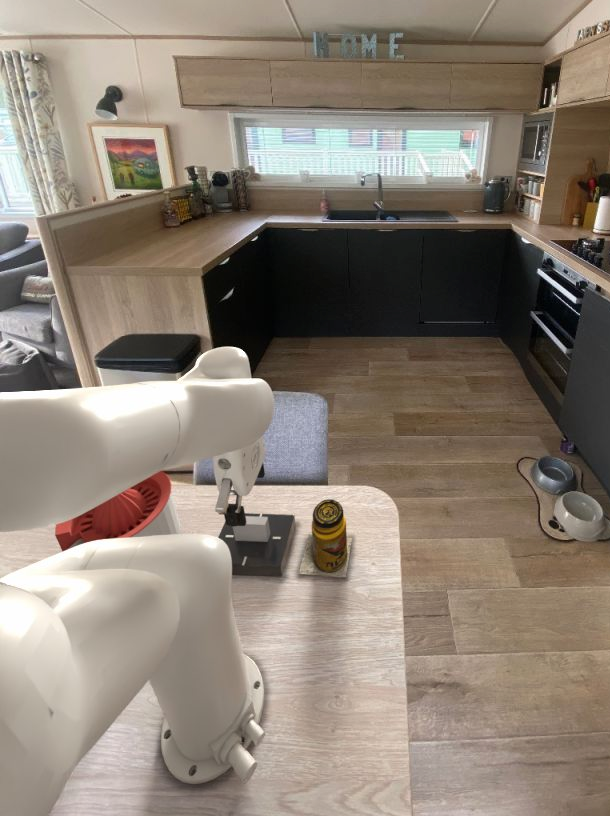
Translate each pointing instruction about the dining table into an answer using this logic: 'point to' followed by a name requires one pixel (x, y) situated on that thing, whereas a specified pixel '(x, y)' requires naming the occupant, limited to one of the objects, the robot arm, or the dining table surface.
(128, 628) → the robot arm
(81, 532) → the citrus juicer
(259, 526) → the tap handle
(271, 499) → the dining table surface
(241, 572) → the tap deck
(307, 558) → the condiment
